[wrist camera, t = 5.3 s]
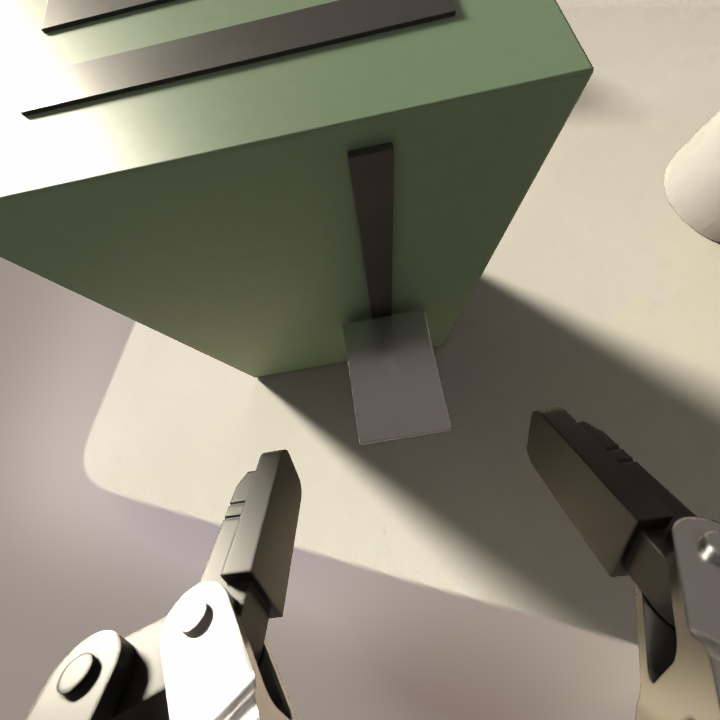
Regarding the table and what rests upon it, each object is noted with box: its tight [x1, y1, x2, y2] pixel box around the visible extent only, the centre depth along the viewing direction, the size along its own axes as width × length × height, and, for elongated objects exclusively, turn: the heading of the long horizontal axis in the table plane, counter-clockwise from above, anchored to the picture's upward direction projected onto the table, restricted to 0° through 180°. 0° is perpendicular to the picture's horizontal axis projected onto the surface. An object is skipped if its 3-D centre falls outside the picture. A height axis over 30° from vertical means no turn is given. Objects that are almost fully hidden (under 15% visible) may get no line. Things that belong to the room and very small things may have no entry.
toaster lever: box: [342, 310, 452, 445], centre depth 13 cm, size 4×5×2 cm
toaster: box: [0, 0, 593, 377], centre depth 14 cm, size 13×9×15 cm, turn 99°
